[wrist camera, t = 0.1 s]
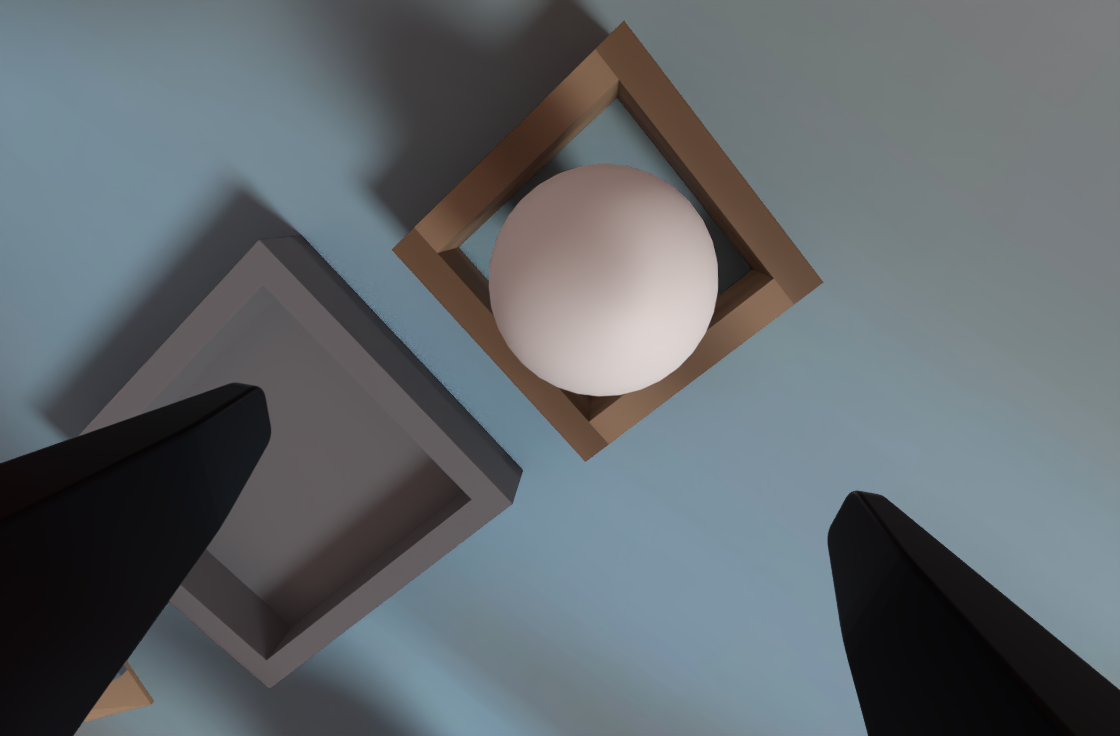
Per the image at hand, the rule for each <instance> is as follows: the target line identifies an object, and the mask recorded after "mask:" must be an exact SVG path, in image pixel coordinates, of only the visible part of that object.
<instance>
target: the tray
mask: <svg viewBox="0 0 1120 736" xmlns="http://www.w3.org/2000/svg"><path fill="white" fill-rule="evenodd" d="M235 382H236V383H243V384H249V385H255V386H258V387H260V388H262V389H263V391H264V393H265V396H266V401H267V407H268V412H269V418H270V423H271V438H270V441H269V444H268V446H267V447H266V449H265V451H264V453H263V455H262V456H261V458H260V460H259V462H258V463H257V465H256V467H255V469H254V471H253V472H252V474H251V476H250V478H249V479H248V481H247V483H246V485H245V487H244V488H243V490H242V492H241V494H240V495H239V497H238V499H237V501H236V503H235V504H234V506H233V508H232V510H231V511H230V513H229V515H228V517H227V518H226V520H225V521H224V523H223V525H222V526H221V528H220V529H219V531H218V532H217V534H216V535H215V537H214V538H213V540H212V541H211V543H210V544H209V545H208V547H207V548H206V550H205V551H204V553H203V554H202V555H201V557H200V558H199V560H198V561H197V562H196V564H195V565H194V567H193V568H192V569H191V571H190V572H189V574H188V575H187V576H186V578H185V579H184V581H183V582H182V583H181V585H180V586H179V588H178V589H177V591H176V592H175V593H174V595H173V596H172V598H171V599H170V600H169V602H170V603H171V604H172V605H174V606H175V607H176V608H177V609H178V610H179V611H180V612H182V613H183V614H184V615H185V616H186V617H187V618H188V619H190V620H191V621H192V622H193V623H194V624H195V625H197V626H198V627H199V628H200V629H201V630H202V631H203V632H205V633H206V634H207V635H208V636H209V637H210V638H211V639H213V640H214V641H215V642H216V643H217V644H218V645H219V646H221V647H222V648H223V649H224V650H225V651H226V652H228V653H229V654H230V655H231V656H232V657H233V658H234V659H236V660H237V661H238V662H239V663H240V664H241V665H242V666H244V667H245V668H246V669H247V670H248V671H249V672H250V673H252V674H253V675H254V676H255V677H256V678H257V679H259V680H260V681H261V682H262V683H263V684H264V685H265V686H267V687H268V688H269V689H270V688H271V687H273V686H274V685H275V684H277V683H278V682H279V681H281V680H282V679H283V678H285V677H286V676H287V675H289V674H290V673H291V672H292V671H294V670H295V669H296V668H298V667H299V666H300V665H302V664H303V663H304V662H306V661H307V660H308V659H310V658H311V657H312V656H313V655H315V654H316V653H317V652H319V651H320V650H321V649H323V648H324V647H325V646H327V645H328V644H329V643H330V642H332V641H333V640H334V639H336V638H337V637H338V636H340V635H341V634H342V633H344V632H345V631H346V630H348V629H349V628H350V627H351V626H353V625H354V624H355V623H357V622H358V621H359V620H361V619H362V618H363V617H365V616H366V615H367V614H369V613H370V612H371V611H372V610H374V609H375V608H376V607H378V606H379V605H380V604H382V603H383V602H384V601H386V600H387V599H388V598H390V597H391V596H392V595H393V594H395V593H396V592H397V591H399V590H400V589H401V588H403V587H404V586H405V585H407V584H408V583H409V582H410V581H412V580H413V579H414V578H416V577H417V576H418V575H420V574H421V573H422V572H424V571H425V570H426V569H428V568H429V567H430V566H431V565H433V564H434V563H435V562H437V561H438V560H439V559H441V558H442V557H443V556H445V555H446V554H447V553H449V552H450V551H451V550H452V549H454V548H455V547H456V546H458V545H459V544H460V543H462V542H463V541H464V540H466V539H467V538H468V537H470V536H471V535H472V534H473V533H475V532H476V531H477V530H479V529H480V528H481V527H483V526H484V525H485V524H487V523H488V522H489V521H491V520H492V519H493V518H494V517H496V516H497V515H498V514H500V513H501V512H502V511H504V510H505V509H506V508H508V507H509V506H510V505H511V504H513V501H514V497H515V494H516V491H517V488H518V485H519V482H520V478H521V475H522V472H523V470H522V469H521V468H520V467H519V466H518V465H517V463H516V462H515V461H514V460H513V459H512V458H511V457H510V456H509V455H508V454H507V453H506V452H505V451H504V450H503V449H502V448H501V447H500V445H499V444H498V443H497V442H496V441H495V440H494V439H493V438H492V437H491V436H490V435H489V434H488V433H487V432H486V431H485V430H484V428H483V427H482V426H481V425H480V424H479V423H478V422H477V421H476V420H475V419H474V418H473V417H472V416H471V415H470V414H469V413H468V412H467V410H466V409H465V408H464V407H463V406H462V405H461V404H460V403H459V402H458V401H457V400H456V399H455V398H454V397H453V396H452V395H451V393H450V392H449V391H448V390H447V389H446V388H445V387H444V386H443V385H442V384H441V383H440V382H439V381H438V380H437V379H436V378H435V376H434V375H433V374H432V373H431V372H430V371H429V370H428V369H427V368H426V367H425V366H424V365H423V364H422V363H421V362H420V361H419V360H418V358H417V357H416V356H415V355H414V354H413V353H412V352H411V351H410V350H409V349H408V348H407V347H406V346H405V345H404V344H403V343H402V341H401V340H400V339H399V338H398V337H397V336H396V335H395V334H394V333H393V332H392V331H391V330H390V329H389V328H388V327H387V326H386V325H385V323H384V322H383V321H382V320H381V319H380V318H379V317H378V316H377V315H376V314H375V313H374V312H373V311H372V310H371V309H370V308H369V306H368V305H367V304H366V303H365V302H364V301H363V300H362V299H361V298H360V297H359V296H358V295H357V294H356V293H355V292H354V291H353V289H352V288H351V287H350V286H349V285H348V284H347V283H346V282H345V281H344V280H343V279H342V278H341V277H340V276H339V275H338V274H337V273H336V271H335V270H334V269H333V268H332V267H331V266H330V265H329V264H328V263H327V262H326V261H325V260H324V259H323V258H322V257H321V256H320V254H319V253H318V252H317V251H316V250H315V249H314V248H313V247H312V246H311V245H310V244H309V243H308V242H307V241H306V240H305V239H304V237H303V236H292V237H281V238H271V239H260V240H258V241H257V242H256V243H255V245H254V246H253V247H252V248H251V249H250V250H249V251H248V252H247V253H246V254H245V255H244V256H243V258H242V259H241V260H240V261H239V262H238V263H237V264H236V265H235V266H234V267H233V268H232V270H231V271H230V272H229V273H228V274H227V275H226V276H225V277H224V278H223V279H222V280H221V281H220V283H219V284H218V285H217V286H216V287H215V288H214V289H213V290H212V291H211V292H210V293H209V294H208V296H207V297H206V298H205V299H204V300H203V301H202V302H201V303H200V304H199V305H198V306H197V307H196V309H195V310H194V311H193V312H192V313H191V314H190V315H189V316H188V317H187V318H186V319H185V320H184V322H183V323H182V324H181V325H180V326H179V327H178V328H177V329H176V330H175V331H174V332H173V333H172V335H171V336H170V337H169V338H168V339H167V340H166V341H165V342H164V343H163V344H162V345H161V346H160V348H159V349H158V350H157V351H156V352H155V353H154V354H153V355H152V356H151V357H150V358H149V360H148V361H147V362H146V363H145V364H144V365H143V366H142V367H141V368H140V369H139V370H138V371H137V373H136V374H135V375H134V376H133V377H132V378H131V379H130V380H129V381H128V382H127V383H126V384H125V386H124V387H123V388H122V389H121V390H120V391H119V392H118V393H117V394H116V395H115V396H114V397H113V399H112V400H111V401H110V402H109V403H108V404H107V405H106V406H105V407H104V408H103V409H102V410H101V412H100V413H99V414H98V415H97V416H96V417H95V418H94V419H93V420H92V421H91V422H90V423H89V425H88V426H87V427H86V428H85V429H84V430H83V431H82V432H81V433H80V434H79V435H78V436H80V435H83V434H86V433H89V432H92V431H95V430H97V429H100V428H103V427H106V426H109V425H112V424H115V423H117V422H120V421H123V420H126V419H129V418H132V417H135V416H138V415H140V414H143V413H146V412H149V411H152V410H155V409H158V408H161V407H163V406H166V405H169V404H172V403H175V402H178V401H181V400H183V399H186V398H189V397H192V396H195V395H198V394H201V393H204V392H206V391H209V390H212V389H215V388H218V387H221V386H224V385H226V384H229V383H235Z"/></svg>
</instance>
